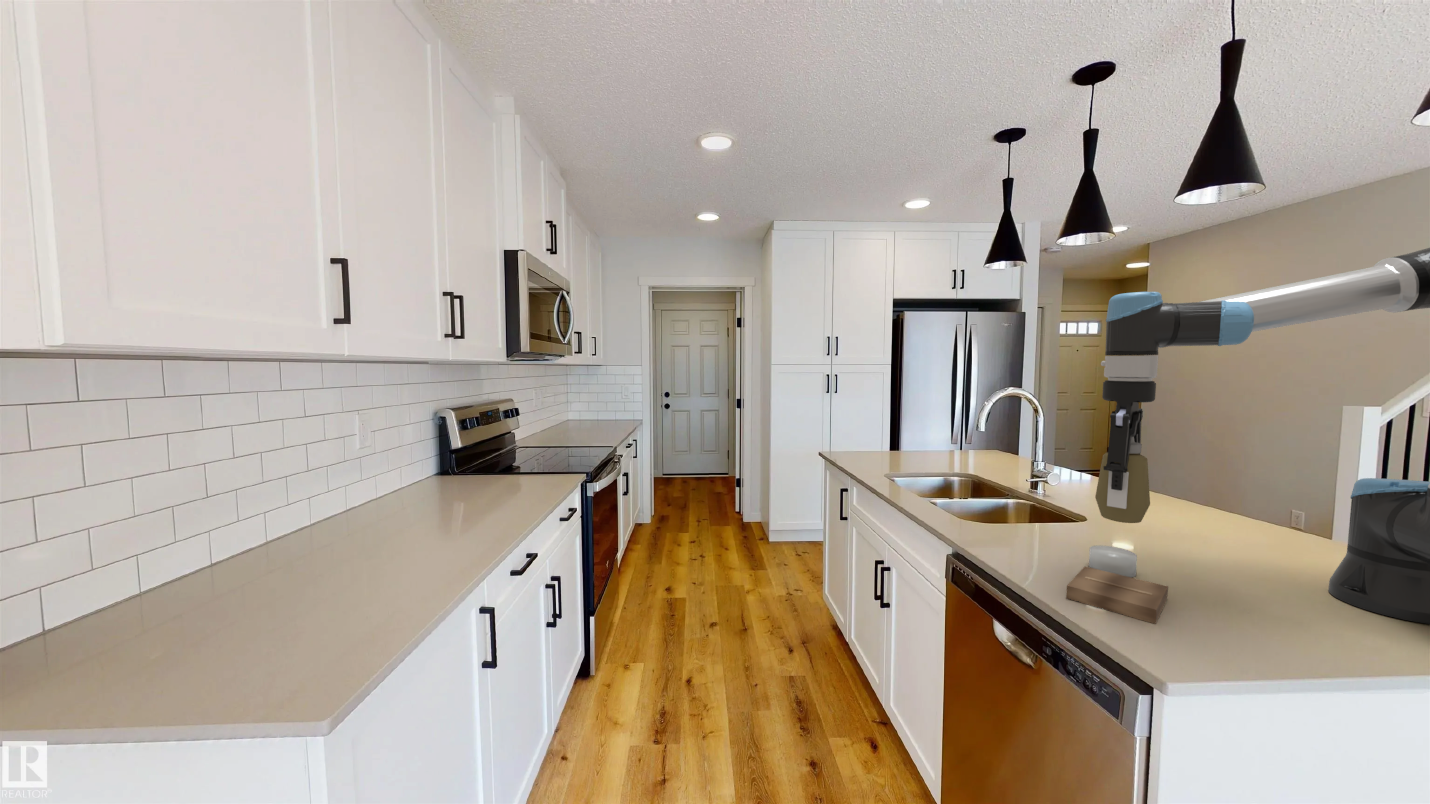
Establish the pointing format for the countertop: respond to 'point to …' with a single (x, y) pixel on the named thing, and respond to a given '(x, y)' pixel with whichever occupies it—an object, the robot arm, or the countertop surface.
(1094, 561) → the white dome cap
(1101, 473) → the squeeze bottle
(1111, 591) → the plate
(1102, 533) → the countertop surface
